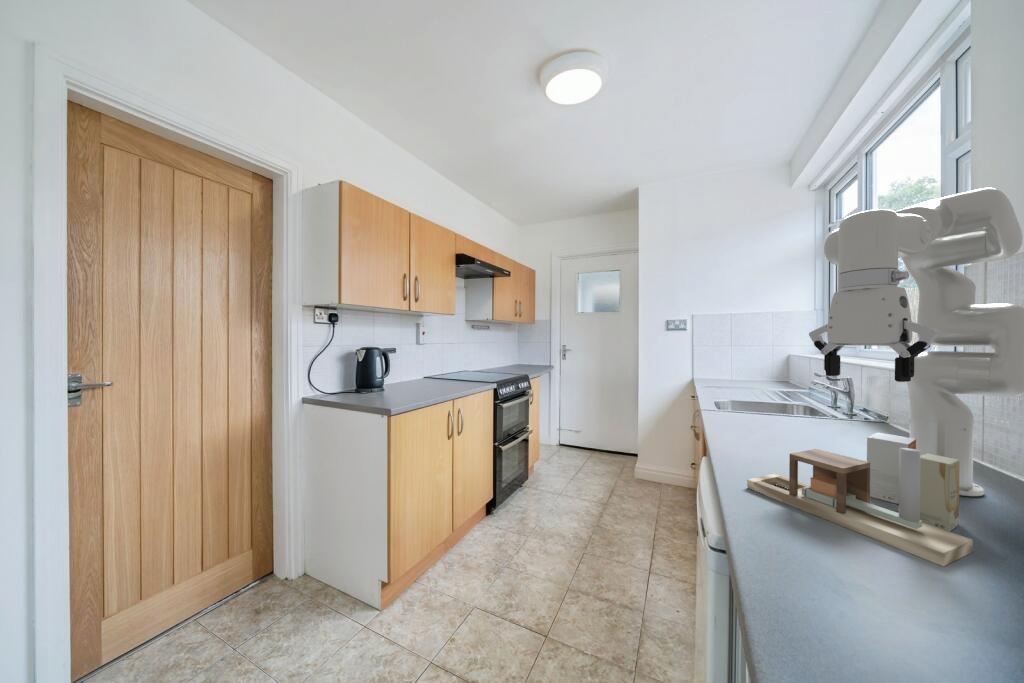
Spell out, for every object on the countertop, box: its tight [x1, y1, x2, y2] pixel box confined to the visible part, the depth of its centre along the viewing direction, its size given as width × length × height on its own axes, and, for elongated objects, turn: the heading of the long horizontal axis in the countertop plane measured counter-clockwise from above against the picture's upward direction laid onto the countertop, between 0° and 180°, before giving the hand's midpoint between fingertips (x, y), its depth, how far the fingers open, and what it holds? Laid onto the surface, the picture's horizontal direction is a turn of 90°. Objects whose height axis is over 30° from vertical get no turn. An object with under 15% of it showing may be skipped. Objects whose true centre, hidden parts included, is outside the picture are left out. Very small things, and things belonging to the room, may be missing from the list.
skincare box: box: [920, 454, 960, 532], centre depth 66 cm, size 6×4×12 cm
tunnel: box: [788, 448, 871, 514], centre depth 71 cm, size 9×9×8 cm
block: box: [810, 475, 837, 501], centre depth 71 cm, size 4×4×4 cm
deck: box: [746, 473, 974, 567], centre depth 69 cm, size 10×30×2 cm, turn 22°
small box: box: [866, 432, 916, 505], centre depth 77 cm, size 8×6×13 cm
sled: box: [802, 448, 922, 529], centre depth 66 cm, size 6×16×13 cm, turn 22°
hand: (865, 378), depth 63 cm, fingers open, 9 cm apart
